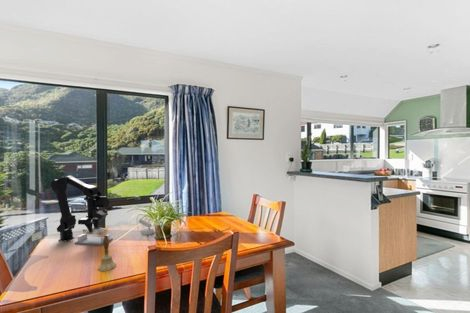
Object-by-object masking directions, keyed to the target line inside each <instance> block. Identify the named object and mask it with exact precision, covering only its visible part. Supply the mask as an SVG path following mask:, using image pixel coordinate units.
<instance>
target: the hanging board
mask: <svg viewBox="0 0 470 313" xmlns="http://www.w3.org/2000/svg"><path fill="white" fill-rule="evenodd" d="M106 235H107V237H108V239H109V241H110V242H111V241H113V239H114V238H113V237H111V234H106ZM104 236H105V235H104ZM104 236H102V237H100V236H98V237H96V236H88V234H83V233H81V234H80V235H77V236H76V237H77V240H76V241H75V242H74V244H75V245H87V246H100V245H101V246H104V245H103V240H104Z"/></svg>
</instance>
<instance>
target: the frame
mask: <svg viewBox="0 0 470 313" xmlns="http://www.w3.org/2000/svg"><path fill="white" fill-rule="evenodd" d="M82 234H87V235H96V236H97V235H98V236H101V235H102V234H105V227H98V228H94V226H92V233H90V232H89V230H88V229H87V227H85V228H82Z"/></svg>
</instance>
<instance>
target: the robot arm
mask: <svg viewBox="0 0 470 313" xmlns="http://www.w3.org/2000/svg"><path fill="white" fill-rule="evenodd" d="M68 185H71V186H72V187H73V188H76V189H78V190H80V191H81V193H82V194H83V195H84V196H85V197H84V198H83V201H86V209H85V212H87V215H85V217H82V218H80V219H78V221H77V219H76V215H75V214H72V213H71V210H70V206H69V202H68V197H67V194H66V191H67V188H68ZM50 187H51V189H52V190H51V191H53V193H55V194H56V198H57V202H58V206H59V211H60V213H61V214H60V215H61V217H60V218H59V226H57V227H56V230H57V233H59V239H58V241H59V242H68V241H71V240H73V239H75V236H73V235H74V234H73V233H74V232H73V229H75V227H76V223H77V225H84V227H85V228H87V229H88V230H89V232H90V233H92V227H94V228H99V224H100V222H101V221H102V220H104V219H106V217H107V216H108V215H109V214H108V213H109V212H108V209H106V208H108V207H109V206H110V200H109V199H108V197H107V196H106V195H105V196H104V195H103V193H101V191H100V189H99V188H98V186H96V185H92V184H87V183H85V182H84V181H82V180H80V179H78V178H76V177H74V176H73V175H65V176H63V177H61V178H59V179H58V178H57V179H53V180H52V181H51V182H50ZM100 208H105V209H103V210H100Z"/></svg>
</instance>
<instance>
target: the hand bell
mask: <svg viewBox="0 0 470 313" xmlns="http://www.w3.org/2000/svg"><path fill="white" fill-rule="evenodd" d="M109 243H110V242H109V239H108V237H107V234H105V235H104V240H103V245H102V246H103V247H104V255H103V256H102V257H101V261H100V264H99V266H98V267H97V270H98V271H101V272H105V271H111V270H113V269H115V268H116V267H117V264H116V262H114V261H113V258H112V255H111V254H109V245H110V244H109Z"/></svg>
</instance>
